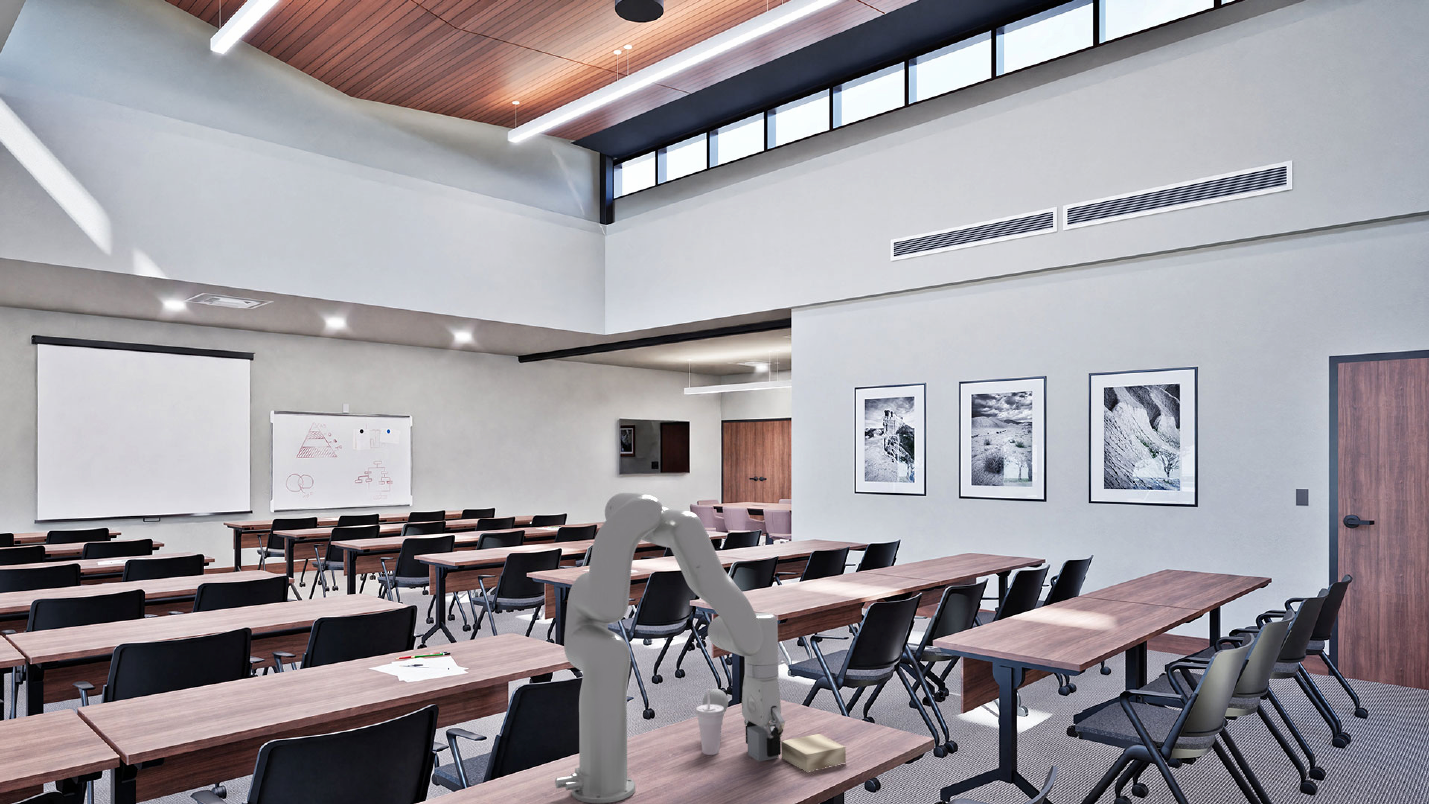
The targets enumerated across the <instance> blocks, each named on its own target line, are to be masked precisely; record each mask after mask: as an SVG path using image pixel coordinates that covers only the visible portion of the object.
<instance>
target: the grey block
mask: <svg viewBox="0 0 1429 804" xmlns="http://www.w3.org/2000/svg"><path fill="white" fill-rule="evenodd" d="M774 728H775V727H774V726H773V727H771V730H772V731H773V729H774ZM767 738H768V734H767V731H766V728H765V727H760V726H758V725H757V726H752V727H747V740H748V744H747V756H749V757H751V758H753V759H754V760H756V761H757V762H758V763H759V762H763V761H768V760H773V759H778V758H777V757H779V756H780V755H778V756H773V757H768V756H767Z"/></svg>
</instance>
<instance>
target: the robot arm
mask: <svg viewBox="0 0 1429 804" xmlns="http://www.w3.org/2000/svg"><path fill="white" fill-rule="evenodd" d="M604 508H605V509H604V516H605V519H606V520H605V521H604V522H603V524H602V525H601V527H599V529H598V531H597V533H596V535H595V538H594V540H593V544H592V549H591V554H590V556H591V557H590V562H589V570H588V571H587V572H584V573H582V574H581V575H579V576H578V577H577V578H576V579H575V580H574V582H573V583H572V585H571V587H570V589H569V593H568V598H567V604H566V614H565V626H564V641H563V644H564V649H563V650H564V654H565V657H566V659H567V661H568V662H569V663H570V665H572V666H573V667H574V668H576V669H577V670H579V671H581V672H582V680H581V685H580V690H579V698H578V699H579V701H578V712H579V713H578V714H579V715H578V716H579V717H578V718H579V719H578V720H579V721H578V723H579V725H578V726H579V728H578V729H579V732H578V733H579V736H578V737H579V743H578V744H579V747H578V748H579V749H578V750H579V755H578V756H579V767H575V768H574V773H571V774H570V775H569V776H561V777H556V778H555V783H554V784H555V788H556V789H562V788H565V790H566V791H571V796H572V797H573V798H574V799H576V800H577V801H580V802H582V803H588V804H611V803H615V802H619V801H622V800H625V799H628V798H629V797H631V796H632V795H633V794H634V792H635V791H636V782H635V781H634V780H633V779H632V778H630V777H628V683H629V675H630V670H631V662H632V661H631V651H630V647H629V646H628V643H627V642H626V640H625V639H624V638H623V637H622V636H621V635H619V634H618V633H616V632H614V631H612V630H610V629H609V625H611V624H615V623H618V622H620V621H621V620H622V619H624V617H625V616H626V613H627V611H628V608H629V604H630V603H629V602H630V589H631V577H632V565H633V559H634V555H635V552H636V549H637V547H638V545H639V543H640V542H641V541H644V542H647V543H649V544H654V545H657V546H660V547H663V548H670V550H671V553H672V555H673V556H674V558H675V561H676V562H677V565H678V566H679V569H680V571H681V574H682V575H683V577H684V580H685V582H686V584H687V586H688V587H689V588H690V590H691V591H692V592H693V594H695V595H696V596H697V597H698V598H700V599H701V600H702V601H704V602H705V603H707V605H708V606H710V607H711V608H712V609H713V611H715V613H716V614H717V615H718V616H716V617H715V618H713V619H712V620H711V622H710V623H709V625H708V628H707V636H708V638H709V641H710V643H712V644H713V645H714V646H715V647H717V648H719V649H721V650H724V651H726V652H729V653H732V654H735V655H738V656H741V657H744V677H743V683H742V692H741V693H742V695H741V696H742V697H741V715H742V717H743V718H744V719H743V720H744V725H745V744H746V745H748V740H747V727H752V726H757V725H758V726H760V727H765V728H766V731H767V734H768V738H767V756H768V757H773V756H778V755H779V756H780V755H782V747H781V737H782V736H783V732H784V728H785V724H786V722H785V721H786V720H785V719H784V718H783V716H782V710H781V709H782V708H781V707H782V705H781V703H782V702H781V692H780V684H779V683H780V682H779V679H778V678H779V676H780V675H779V644H778V643H779V634H778V633H779V632H778V631H779V630H778V625H779V624H778V618H777V616H776V615H775V614H773V613H770V612H755V609H754V608H753V606H752V605H751V602H750V601H749V600H748V597H747V596H746V595H745V594H744V592H743V591H742V590H741V588H739V586H738V585H737V584H736V583H735V581H734V579H733V578H732V577H731V576H730V575H729V574H728V573H727V571H726V570H725V569H724V566H723V565H722V562H721V560H720V558H719V556H718V554H717V551H716V549H715V547H714V545H713V543H712V540H711V539H710V535H709V534H708V532H707V530H706V527H705V525H704V523H703V522H702V520H701V518H700V517H699V516H698V515H697V514H696V513H694V512H693V511H689V510H682V509H673V508H667V507H665V506H663V505H662V503H661V501H660V500H659V499H658V498H657V497H656V496H654V495H651V494H648V493H639V492H635V493H634V492H620V493H617V494H615V495H613V496H612V497H610V498H609V499H608V501H607V503H606V505H605V507H604ZM771 727H773V728H774V729H773V731H772V730H771Z"/></svg>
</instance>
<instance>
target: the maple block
mask: <svg viewBox="0 0 1429 804" xmlns="http://www.w3.org/2000/svg"><path fill="white" fill-rule="evenodd" d="M846 758H847V757H846V746H845V745H843V744H840V743H839V742H836V741H835V740H832V739H831V738H829V737H826V736H824V735H823V734H821V733H816V734H811V735H806V736H802V737H801V736H800V737H796V738H790V739H785V740H782V741H781V759H783V760H784V759H785V760H784V761H786V760H787V762H788V763H789V764H791V763H792V765H793V766H795V767H796V766H797V768H798V767H799V768H798V769H800V770H801V769H803V770H804V771H803V770H802V771H803V772H805V771H806V772H805V773H810V772H809V771H812V772H814V771H813V770H816V769H821V770H823V769H822V768H825V767H829V766H835V765H838V764H841V763H846V762H847V761H846V760H847V759H846ZM846 764H847V763H846ZM835 767H836V766H835Z"/></svg>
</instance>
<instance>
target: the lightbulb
mask: <svg viewBox="0 0 1429 804" xmlns="http://www.w3.org/2000/svg"><path fill="white" fill-rule="evenodd" d="M707 704H708V694H707V692H706V693H705V694H704V696H703V698H702V705H707ZM710 704H715V705H720V706H722V707H724V714H723V716H722V722H724V721H723V720H724V716H725V714H726V711H727V708H728V707H729V697H728V695H727V694H726V692H724V691H723V690H721V689H719V688H710Z"/></svg>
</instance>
